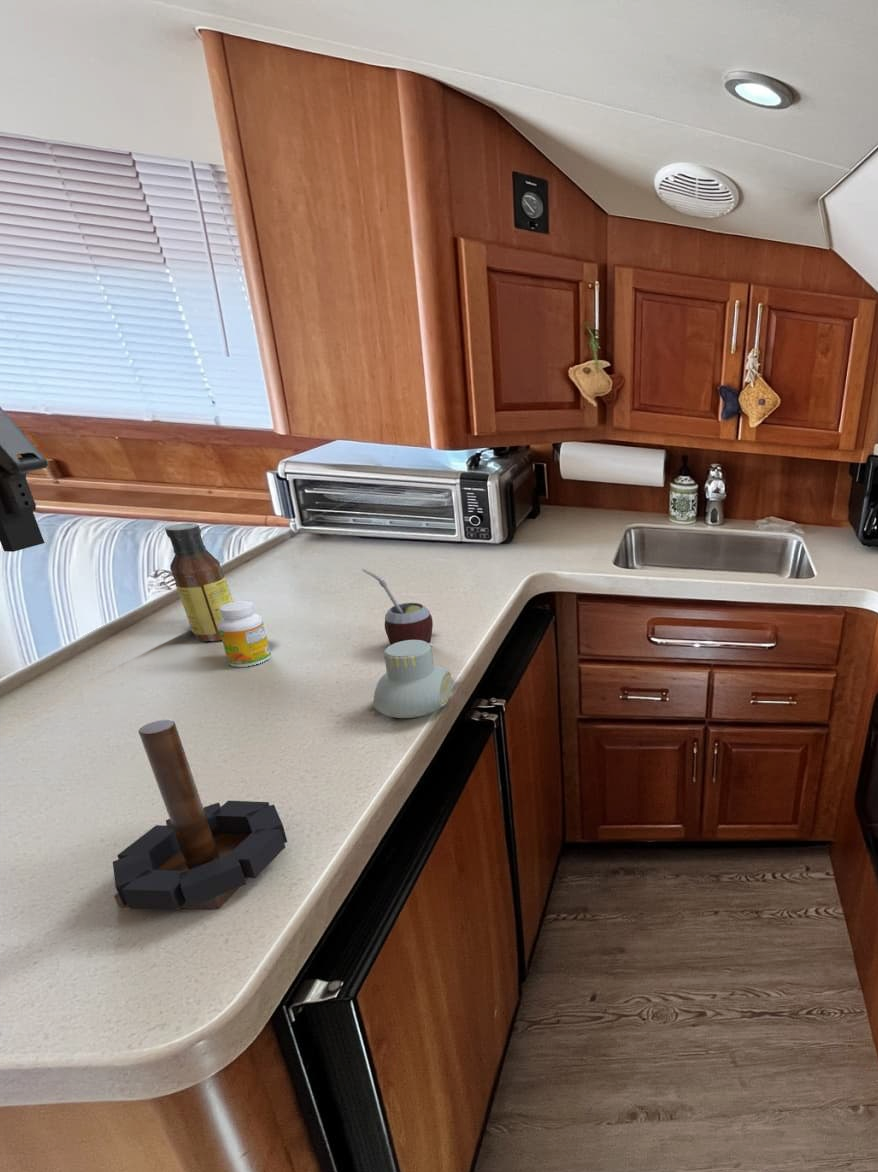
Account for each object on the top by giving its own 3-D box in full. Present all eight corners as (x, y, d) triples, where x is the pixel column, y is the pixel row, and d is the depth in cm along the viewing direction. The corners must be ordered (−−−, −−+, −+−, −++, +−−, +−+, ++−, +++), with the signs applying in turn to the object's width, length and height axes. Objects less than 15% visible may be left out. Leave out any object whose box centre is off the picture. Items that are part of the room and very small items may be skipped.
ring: (82, 908, 58) (73, 888, 57) (195, 816, 69) (189, 798, 68) (222, 911, 59) (215, 892, 58) (311, 820, 70) (307, 803, 69)
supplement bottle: (220, 663, 101) (204, 608, 98) (256, 650, 106) (241, 596, 103) (244, 670, 100) (229, 614, 96) (280, 656, 105) (266, 602, 101)
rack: (118, 907, 60) (52, 754, 54) (196, 839, 68) (148, 699, 62) (219, 909, 61) (166, 757, 54) (284, 841, 69) (245, 702, 63)
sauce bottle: (242, 625, 114) (213, 518, 106) (243, 638, 110) (213, 528, 102) (192, 633, 110) (159, 522, 102) (191, 647, 105) (156, 532, 98)
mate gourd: (443, 651, 111) (431, 570, 106) (393, 665, 105) (378, 581, 100) (425, 637, 115) (413, 559, 110) (376, 650, 110) (361, 568, 104)
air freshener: (438, 725, 91) (429, 664, 87) (373, 730, 89) (360, 667, 85) (456, 687, 101) (448, 630, 97) (397, 690, 98) (387, 632, 95)
